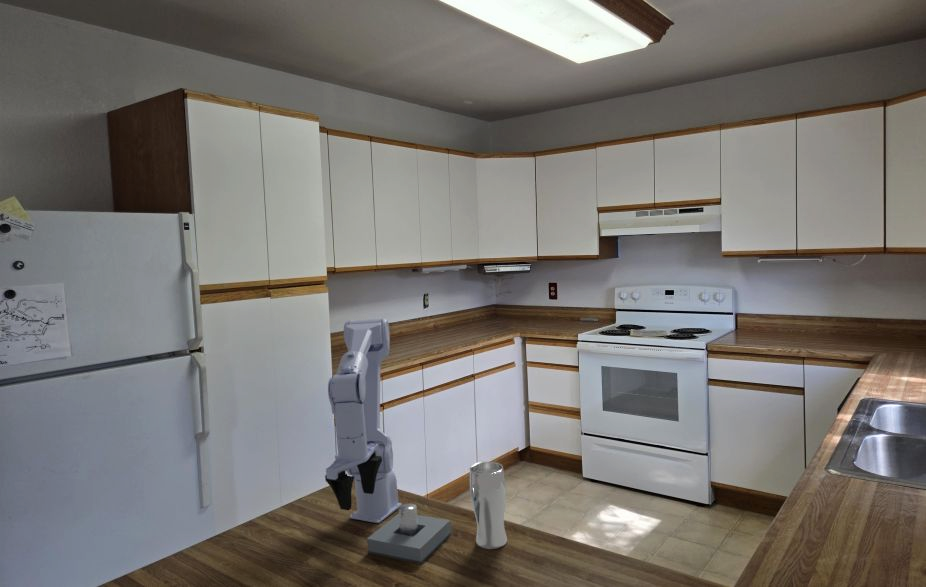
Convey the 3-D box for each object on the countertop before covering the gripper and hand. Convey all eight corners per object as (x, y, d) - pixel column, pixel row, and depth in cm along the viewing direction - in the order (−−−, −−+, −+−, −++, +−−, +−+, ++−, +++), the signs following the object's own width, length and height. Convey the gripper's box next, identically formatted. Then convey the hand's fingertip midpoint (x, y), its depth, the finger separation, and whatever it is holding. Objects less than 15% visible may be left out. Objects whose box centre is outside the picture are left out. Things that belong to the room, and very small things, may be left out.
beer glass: (515, 544, 121) (510, 469, 119) (482, 554, 118) (476, 477, 117) (500, 529, 127) (495, 458, 126) (468, 538, 125) (463, 465, 123)
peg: (401, 537, 126) (398, 504, 125) (419, 535, 126) (416, 502, 125) (400, 546, 122) (398, 512, 122) (419, 544, 122) (416, 510, 122)
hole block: (401, 525, 132) (400, 512, 132) (451, 534, 127) (450, 520, 126) (368, 553, 122) (366, 538, 121) (421, 564, 116) (419, 548, 116)
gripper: (356, 421, 131) (362, 484, 132) (310, 444, 118) (317, 513, 119) (384, 424, 128) (390, 488, 129) (340, 448, 115) (347, 518, 116)
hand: (357, 500), depth 124 cm, fingers open, 7 cm apart
